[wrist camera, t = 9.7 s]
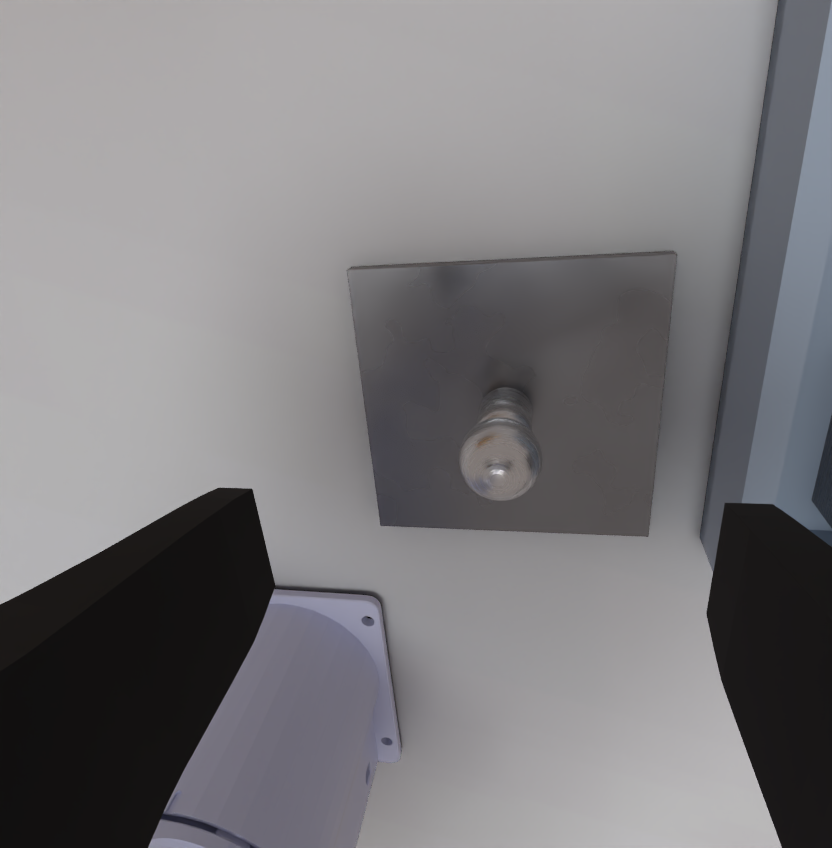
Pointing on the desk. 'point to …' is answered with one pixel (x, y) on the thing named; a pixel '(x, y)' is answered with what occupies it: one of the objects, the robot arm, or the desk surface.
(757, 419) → the tray
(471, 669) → the desk surface
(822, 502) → the strut
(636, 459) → the stud plate
